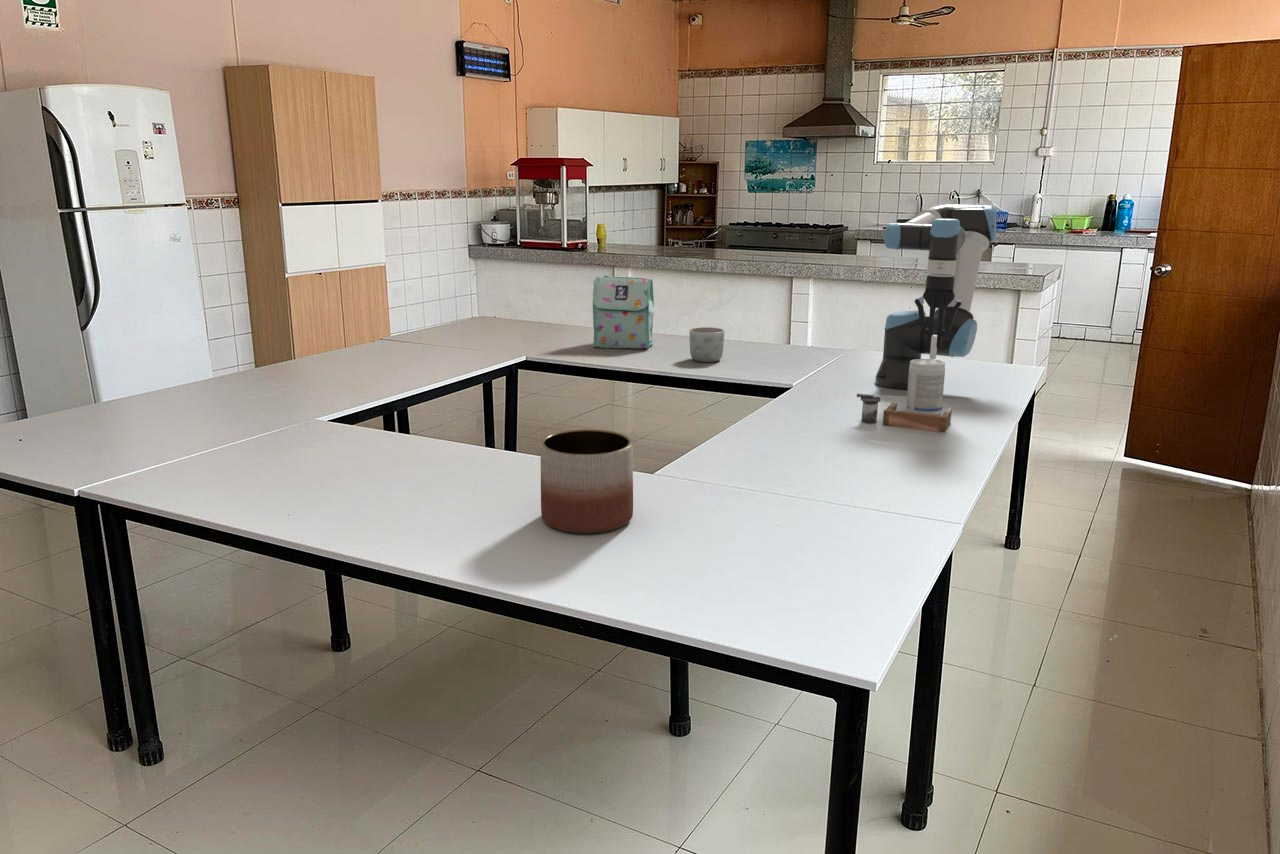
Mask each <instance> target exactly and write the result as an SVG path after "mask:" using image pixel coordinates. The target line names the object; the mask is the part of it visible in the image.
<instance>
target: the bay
mask: <svg viewBox="0 0 1280 854" xmlns="http://www.w3.org/2000/svg"><path fill="white" fill-rule="evenodd" d="M897 408H898V402H890V404H889V405H888V406H887V407H886V409H884V410H883V415H882V416H883V417H882V426H887V427H895V428H903V429H904V428H905V429H915V430H921V431H930V432H937V433H938V432H940V433H946V431H947V429H948V427H949V425H950V424H951V421H952V419H951V418H952V408H945V409H944V411H943V413H942V415H941V414H939V415H932V414H923V413H913V412H907V411H904V410H903V411H902V410H897Z"/></svg>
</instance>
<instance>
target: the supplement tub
mask: <svg viewBox="0 0 1280 854" xmlns="http://www.w3.org/2000/svg"><path fill="white" fill-rule="evenodd" d="M945 366H946V362H944V361H943V360H939V359H930V358H921V359H914V360H911V361H910V366H909V378H908V389H907V395H906V409H905V410H906V412H913V413H923V414H932V415H941V413H942V412H943V401H944V399H943V398H944V388H945V387H944V386H945V375H946V367H945Z"/></svg>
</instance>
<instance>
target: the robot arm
mask: <svg viewBox="0 0 1280 854" xmlns="http://www.w3.org/2000/svg"><path fill="white" fill-rule="evenodd" d="M884 232H885V233H884V239H883V240H884V246H885V247H886V249H890V250H908V251H910V250H911V251H912V250H913V251H927V252H928V259H927V268H926V269H927V270H926V273H927V274H928V275H927V276H926V277H925V278H926V280H925V290H924V292H923V294H922V295H921V296H920V297H917V298H915V300H914V303H915V305H916V307H917V310H916V309H915V310H902V311H895V312H892V313H890V314H888V315H887V316H886V319H885V327H884V328H883V329H884V339H883V351H882V353H883V354H882V361H881V363H880V365H879V368H878V370H877V372H876V375H875V379H874V383H875V384H876V385H877V386H879V387H885V388H889V389H896V390H897V389H898V390H908V378H909V366H910V361H911V360H914V359H922V355H923V354H924V355H929V359H933V360H936V358H937V356H942V357H951V358H955V357H956V358H964V357H966V356H968V355H969V354H970V353H971V351H972V349H973V347H974V343H975V340H976V335H977V333H978V322H977V320H975V319H974V314H973V313H972V312H971V308H972V302H973V297H974V293H975V289H976V285H977V278H978V274H979V269H980V266H981V265H980V264H981V261H982V255H983V252H985V251H987V250H988V248H989V246H990V244H991V243H992V244H993V243H995V242H996V241H997V210H996V208H995V206H994V205H990V204H987V205H986V204H982V203H981V204H957V203H955V204H953V203H952V204H951V203H947V204H945V203H944V204H939V205H934V206H931V207H927V208H925V209H922V210H920V211H918V213H916V215H915V216H914V218H912V219H910V220H908V221H906V222H902V223H901V222H890V223H888V224H887V225H886V228H885V230H884ZM925 303H926V304H927V306H928V307H929V314H928V315H929V316H928V315H927V314H926V312H925V307H924V304H925Z"/></svg>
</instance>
